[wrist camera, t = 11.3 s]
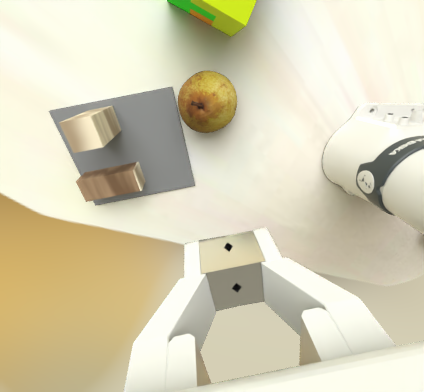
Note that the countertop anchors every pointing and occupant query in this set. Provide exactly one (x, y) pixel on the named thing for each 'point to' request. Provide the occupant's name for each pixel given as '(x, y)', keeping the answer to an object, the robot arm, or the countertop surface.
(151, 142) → the mat
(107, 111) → the ash block
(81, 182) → the walnut block
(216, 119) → the fruit
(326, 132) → the countertop surface
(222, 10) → the puzzle toy
